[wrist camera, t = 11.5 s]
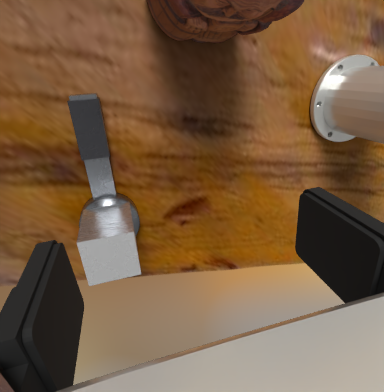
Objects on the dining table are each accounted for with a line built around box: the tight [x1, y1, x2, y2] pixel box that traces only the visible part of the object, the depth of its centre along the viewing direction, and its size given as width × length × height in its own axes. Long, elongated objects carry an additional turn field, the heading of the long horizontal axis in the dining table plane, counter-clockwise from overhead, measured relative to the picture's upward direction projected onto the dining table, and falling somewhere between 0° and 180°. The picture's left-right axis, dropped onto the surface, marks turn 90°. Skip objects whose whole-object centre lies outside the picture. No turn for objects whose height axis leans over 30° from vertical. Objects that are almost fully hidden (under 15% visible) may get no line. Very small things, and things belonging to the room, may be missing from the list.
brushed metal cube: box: [77, 202, 141, 286], centre depth 34 cm, size 6×6×8 cm
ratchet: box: [68, 93, 139, 236], centre depth 35 cm, size 8×21×6 cm, turn 4°
